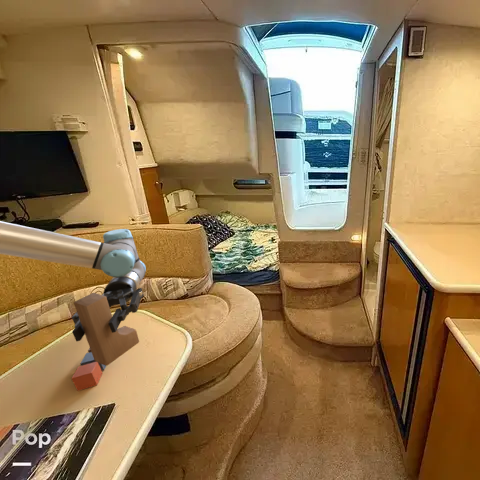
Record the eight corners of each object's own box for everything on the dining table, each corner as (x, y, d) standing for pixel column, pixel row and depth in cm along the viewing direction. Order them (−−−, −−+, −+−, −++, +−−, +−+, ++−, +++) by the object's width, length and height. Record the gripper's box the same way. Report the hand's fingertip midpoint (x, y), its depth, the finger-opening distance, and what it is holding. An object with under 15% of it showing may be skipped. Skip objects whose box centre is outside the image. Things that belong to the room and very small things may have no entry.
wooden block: (128, 337, 75) (112, 282, 69) (140, 342, 74) (125, 286, 67) (94, 361, 67) (72, 301, 61) (106, 366, 66) (86, 306, 59)
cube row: (97, 385, 73) (91, 372, 71) (77, 391, 71) (71, 378, 70) (114, 348, 86) (110, 337, 85) (98, 352, 85) (93, 341, 83)
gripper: (160, 290, 87) (145, 333, 67) (89, 305, 81) (49, 357, 61) (154, 269, 85) (137, 307, 64) (80, 283, 78) (35, 330, 58)
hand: (94, 331), depth 63 cm, fingers closed on wooden block, 6 cm apart
